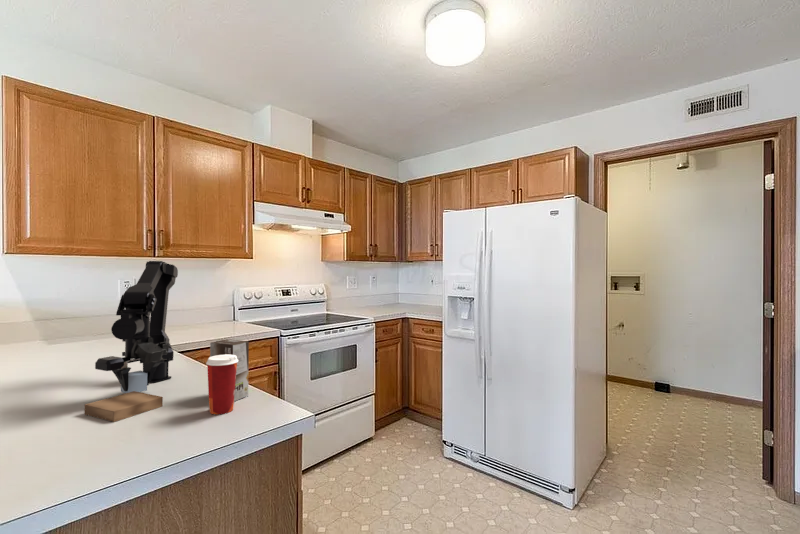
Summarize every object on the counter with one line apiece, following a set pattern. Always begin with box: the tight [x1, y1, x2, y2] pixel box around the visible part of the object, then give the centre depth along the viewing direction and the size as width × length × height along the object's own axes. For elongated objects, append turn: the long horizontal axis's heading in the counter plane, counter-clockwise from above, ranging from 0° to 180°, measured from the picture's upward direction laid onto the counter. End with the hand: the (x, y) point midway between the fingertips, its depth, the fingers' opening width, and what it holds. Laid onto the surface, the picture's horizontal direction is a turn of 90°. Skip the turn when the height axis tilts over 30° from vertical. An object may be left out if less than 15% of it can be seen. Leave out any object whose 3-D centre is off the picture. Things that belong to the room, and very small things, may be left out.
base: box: [83, 391, 164, 423], centre depth 99 cm, size 12×12×2 cm
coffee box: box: [209, 339, 250, 402], centre depth 110 cm, size 9×6×16 cm
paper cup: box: [205, 354, 238, 416], centre depth 99 cm, size 8×8×14 cm
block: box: [120, 370, 148, 394], centre depth 110 cm, size 5×5×5 cm
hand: (136, 388), depth 109 cm, fingers closed on block, 5 cm apart
